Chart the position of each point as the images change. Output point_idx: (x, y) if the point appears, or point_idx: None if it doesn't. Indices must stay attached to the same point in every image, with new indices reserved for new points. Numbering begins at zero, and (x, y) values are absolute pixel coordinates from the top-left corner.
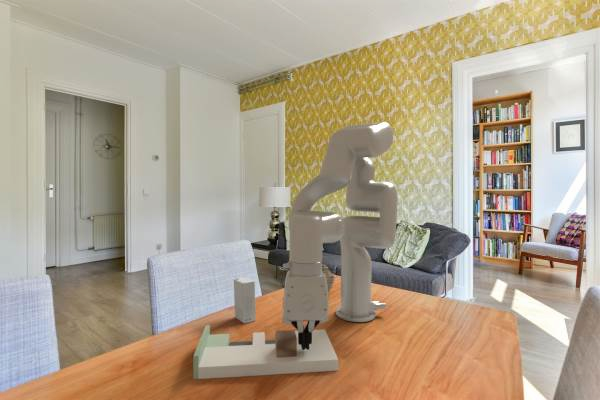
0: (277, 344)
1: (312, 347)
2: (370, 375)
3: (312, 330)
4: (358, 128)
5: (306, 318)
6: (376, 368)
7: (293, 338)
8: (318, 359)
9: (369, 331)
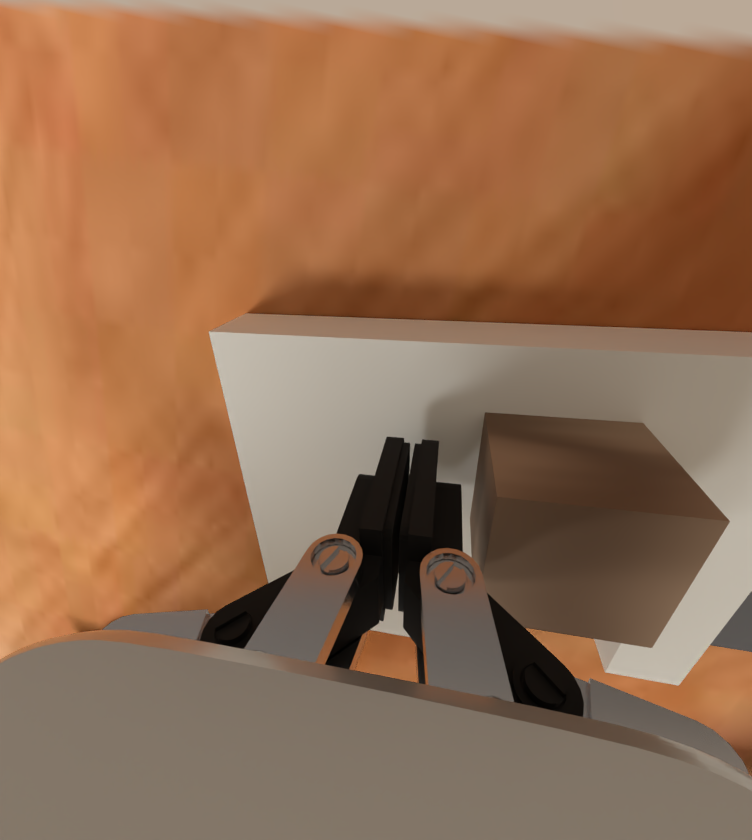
0: (690, 488)
1: None
2: (75, 240)
3: (322, 549)
4: None
5: (356, 724)
6: (54, 304)
7: (528, 511)
8: (338, 352)
9: (113, 571)
